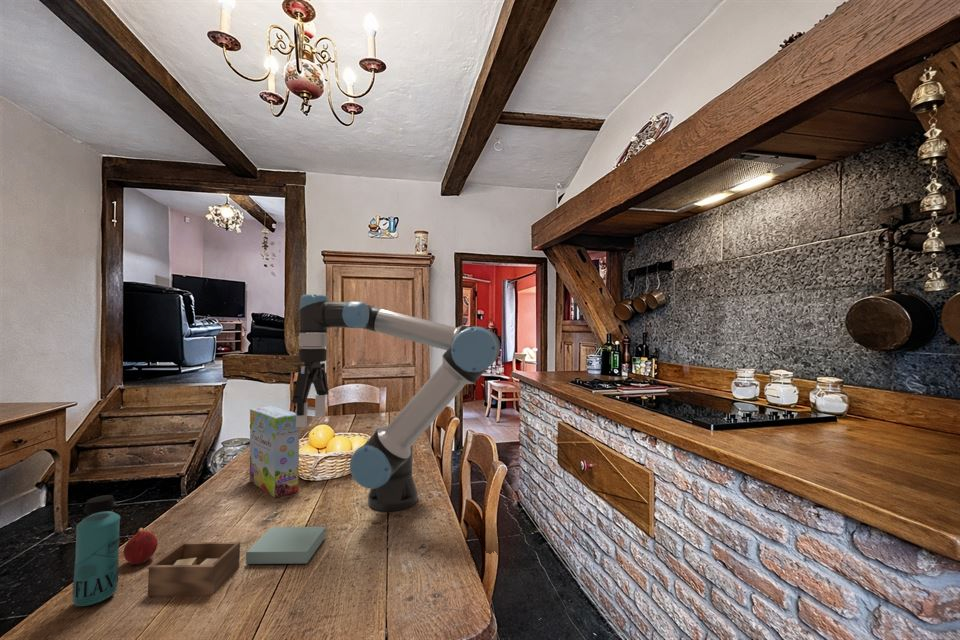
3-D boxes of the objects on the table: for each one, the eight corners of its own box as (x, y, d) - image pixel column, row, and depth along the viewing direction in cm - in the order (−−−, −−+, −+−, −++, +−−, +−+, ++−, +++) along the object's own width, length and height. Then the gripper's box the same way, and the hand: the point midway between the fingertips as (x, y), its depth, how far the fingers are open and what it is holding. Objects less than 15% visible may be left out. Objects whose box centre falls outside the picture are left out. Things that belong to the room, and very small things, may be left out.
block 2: (223, 575, 85) (223, 558, 85) (212, 585, 82) (213, 568, 82) (206, 575, 85) (206, 558, 85) (195, 585, 82) (195, 568, 82)
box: (239, 569, 88) (240, 542, 89) (211, 597, 79) (212, 566, 79) (181, 570, 88) (182, 542, 88) (147, 598, 79) (148, 567, 79)
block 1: (196, 574, 86) (196, 557, 86) (189, 584, 82) (189, 566, 82) (176, 576, 85) (177, 560, 85) (169, 587, 81) (169, 569, 81)
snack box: (246, 482, 140) (248, 408, 141) (272, 475, 147) (274, 405, 147) (272, 499, 126) (274, 416, 127) (300, 491, 132) (302, 412, 133)
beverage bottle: (64, 619, 73) (69, 507, 73) (79, 598, 79) (84, 494, 79) (111, 608, 76) (115, 501, 76) (123, 588, 82) (126, 489, 82)
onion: (163, 560, 92) (164, 524, 92) (134, 574, 86) (135, 536, 87) (145, 555, 94) (147, 520, 94) (116, 569, 88) (118, 532, 89)
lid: (325, 542, 101) (325, 526, 101) (306, 568, 89) (307, 551, 89) (271, 542, 100) (271, 527, 101) (245, 569, 89) (246, 551, 89)
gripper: (316, 346, 129) (314, 413, 128) (279, 349, 104) (277, 432, 103) (339, 346, 129) (338, 413, 128) (308, 349, 104) (306, 432, 103)
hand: (311, 421), depth 116 cm, fingers open, 13 cm apart
